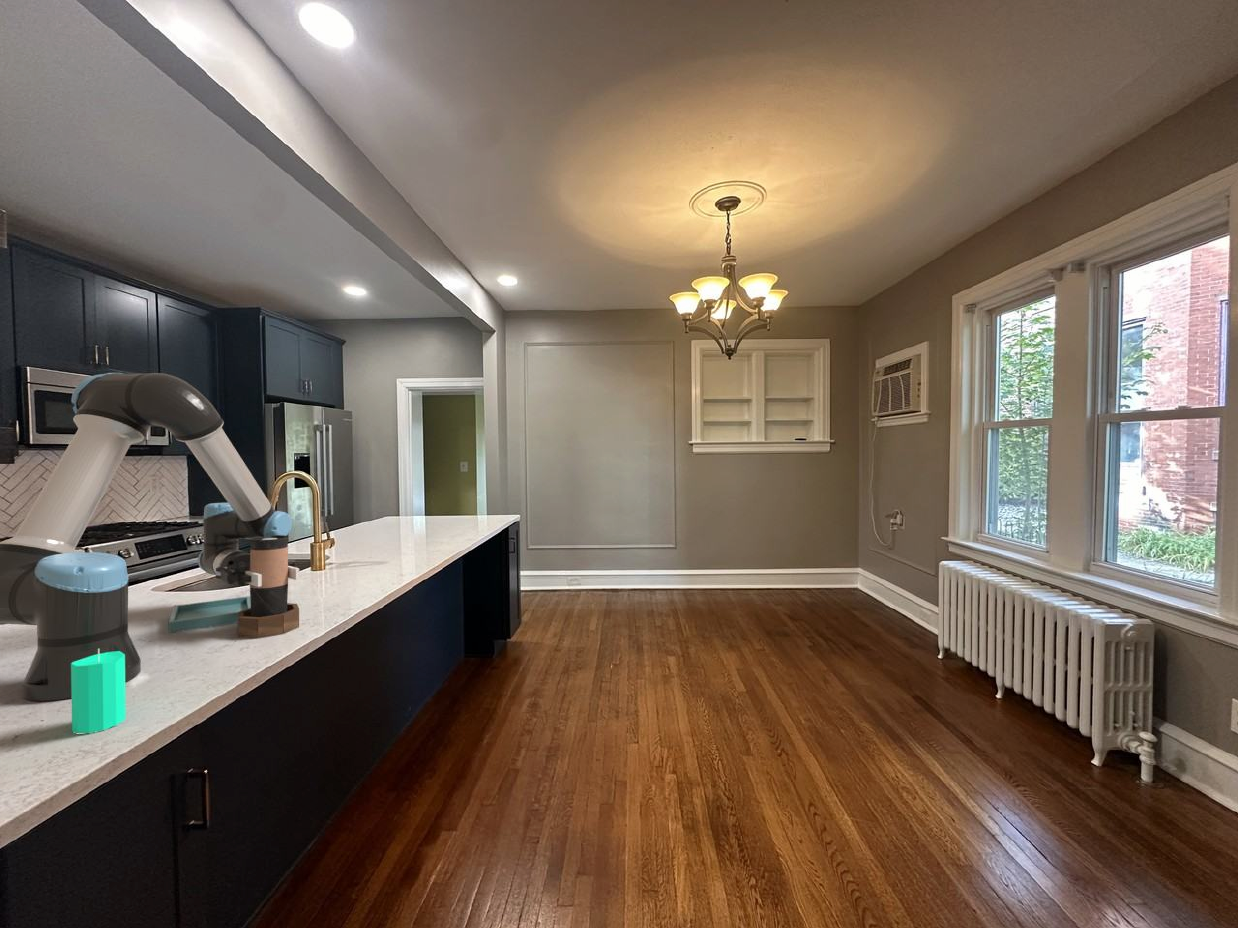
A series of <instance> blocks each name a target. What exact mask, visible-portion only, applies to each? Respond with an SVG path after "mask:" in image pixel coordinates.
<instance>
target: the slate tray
mask: <svg viewBox="0 0 1238 928" xmlns="http://www.w3.org/2000/svg"><path fill="white" fill-rule="evenodd" d="M249 608H251V603H250V595H248V596H241V597H233V598H227V599H224V598H223V599H217V600H211V601H210V600H209V601H202V602H195V603H194V602H193V603H187V604H179V605H178V604H177V605H174V607H173V608H172V609H173V610H172V611H171V615H170V617H169V621H168V633H169V634H171V633H177V631H179V632H184V631H183V630H185V631H191V630H190V629H192V630H197V629H198V628H199V629H204V628H205V629H206V628H210V626H212V627H216V625H218V626H224V624H225V625H229V624H230V625H231V624H236V623H237V624H238V612H240V611H243V610H246V609H249Z"/></svg>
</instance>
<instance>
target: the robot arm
mask: <svg viewBox="0 0 1238 928" xmlns="http://www.w3.org/2000/svg"><path fill="white" fill-rule="evenodd" d="M71 403H72V404H73V407H72V410H73V412H74V413H75V415H74V416H73V418H72V419H73V423H74V424H75V425H76V427H77V431H76V432H75V434H74V436H73V437H72V439H71V440H70V442H69V444H68V446H67V447H66V449H65V451H64V452H63V454H62V456H61V457H60V459H59V461H58V462H57V464H56V465H55V467H54V469H53V471H52V473H51V474H50V476H49V478H48V479H47V481H46V482H45V484H44V486H43V487H42V490H41V491H40V493H39V494H38V496H37V498H36V499H35V501H34V503H33V504H32V506H31V507H30V510H29V511H28V513H27V514H26V516H25V517H24V520H22V523H21V524H20V526H19V528H18V529H17V531H16V532H15V534H14V536H13V537H11V538H9V539H5V540H3V541H0V626H1V625H24V626H37V627H36V629H37V630H36V634H37V635H36V636H37V648H36V652H35V655H34V656H33V659H32V661H31V663H30V666H29V668H28V671H27V673H26V675H25V678H24V681H23V684H22V697H23V698H24V699H25V700H29V701H35V702H37V701H40V702H43V701H44V702H46V701H56V700H57V701H58V700H59V701H60V700H65V699H72V693H71V663H73V662H75V661H78V660H81V659H84V658H87V657H90V656H93V655H96V654H98V649H99V654H101V653H107V652H115V651H120V652H122V653H123V654H125V683H126V682H129V681H130V680H133V679H134V678H136V677H137V676H138V675H140V673H141V670H142V669H141V667H142V665H141V662H142V661H141V658H140V655H139V653H138V651H137V650H136V649H137V648H136V647H135V645H134V642H133V641H132V639H131V637H130V635H129V626H128V625H129V578H130V576H129V574H128V568H127V562H126V561H125V559H124V558H123V557H121V556H119V555H116V554H113V553H109V552H99V551H91V552H85V551H77V550H76V547H77V546H78V543H79V541H80V540H81V538H82V536H83V534H84V532H85V530H86V528H87V527H88V525H89V523H90V521H91V519H92V517H93V515H94V513H95V512H96V509H97V508H98V506H99V504H100V502H101V501H102V498H103V497H104V495H105V494H106V491H107V489H108V488H109V485H110V484H111V482H112V480H113V478H114V476H115V474H117V473H116V472H117V470H118V469H119V467H120V465H121V463H122V462H123V460H124V458H125V456H126V454H127V452H128V450H129V448H130V447H131V445H133V444H138V443H141V442H143V441H144V439H145V437H146V435H147V434H148V432H149V431H150V428H151V427H161V428H164V429H166V430H168V431H169V432H170V433H171V434H172V435H173V436H174V438H175V440H176V441H179V442H183V443H185V445H186V446H187V447H188V449H189V450H190V451H191V452H192V454H193V455H194V457H195V458H196V460H197V461H198V462H199V464H200V466H201V467H202V468H203V469H204V471H205V472H206V473H207V475H208V476H209V478H210V479H211V480H212V482H213V484H214V485H215V487H216V488H217V489H218V490H219V492H220V493H221V495H222V496H223V498H224V499H225V500H226V501H227V502H213V503H208V504H206V505H205V506H204V508H203V509H204V510H203V511H204V512H203V519H202V522H203V523H202V524H203V526H202V527H203V547H202V550H201V551H200V553H199V555H198V557H197V564H198V567H199V568H200V569H201V570H203V572H205V573H207V574H209V575H213V576H215V579H217V580H218V579H219V580H222V581H223V582H225V583H226V584H228V585H233V584H235V583H236V582H237V586H238V587H241V586H242V587H244V586H245V584H248V585H249V586H250V585H254V586H257V587H260V586H262V574H258V573H255V572H251V571H250V552H247V551H243V550H240V549H239V542H240V541H239V539H240V540H251V538H254V537H262V538H270V537H272V536H274V535H284V536H287V537H288V535H289V534H290V533H291V530H292V526H293V522H292V521H293V520H292V518H291V516H290V515H289V513H287V512H285V511H281V510H275V509H274V507H273V506H272V504H271V502H270V500H269V499H268V498H267V497H266V495H265V493H264V491H263V490H262V488H261V487H260V485H259V484H258V481H256V479H255V477H254V476H253V474H252V472H251V471H250V469H249V468H248V466H247V465H246V464H245V462H244V461H243V459H242V457H241V456H240V454H239V453H238V451H237V450H236V448H235V446H234V445H233V443H232V441H231V440H230V439H229V437H228V436H227V434H226V433H225V431H224V429H223V426H224V423H225V422H224V420H223V417H221V415H220V414H219V413H218V412H219V411H217V410H216V408H215V407H214V405H213V404H212V403H211V402H210V400H208V399H207V398H206V397H205V396H204V394H202V393H201V392H200V391H199V390H198V389H196V388H195V387H194V386H193V385H191V384H189V383H188V382H187V381H185V380H183V379H181V378H179V377H177V376H174V375H171V374H167V373H160V372H159V373H158V372H152V373H151V372H150V373H124V372H108V373H103V374H102V373H101V374H95V375H92V376H89V377H87V378H85V379H83V380H82V381H80V382H79V383H78V384H77V385H76V387H75V388H74V390H73V392H72V395H71ZM288 579H291V580H294V581H298V580H300V568H298V567H297V563H296V562H291V561H288Z"/></svg>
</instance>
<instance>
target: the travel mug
mask: <svg viewBox="0 0 1238 928" xmlns="http://www.w3.org/2000/svg"><path fill="white" fill-rule="evenodd" d="M249 553H250V571H251V572H255V573H258V574H262V586H260V587H257V586H254V585H250V584H249V596H250V603H251V617H265V616H272V615H279V614H283V613H285V612H287V603H288V595H289V594H288V593H289V578H288V562H289V538H288V535H287V536H284V535H274V536H272V537H270V538H262V537H254V538H251V539H250V550H249Z"/></svg>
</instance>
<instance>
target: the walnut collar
mask: <svg viewBox="0 0 1238 928" xmlns="http://www.w3.org/2000/svg"><path fill="white" fill-rule="evenodd" d="M297 628H300V608H299V604H298V603H290V602H287V612H285V613H283V614H279V615H272V616H265V617H251V608H249V609H246V610H243V611H240V612H238V623H237V635H238V636H237V637H238V638H248V639H261V638H267V637H273V636H279V635H280V636H281V635H285V634H286V633H288V632H291V631H293V630H296V629H297Z"/></svg>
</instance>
